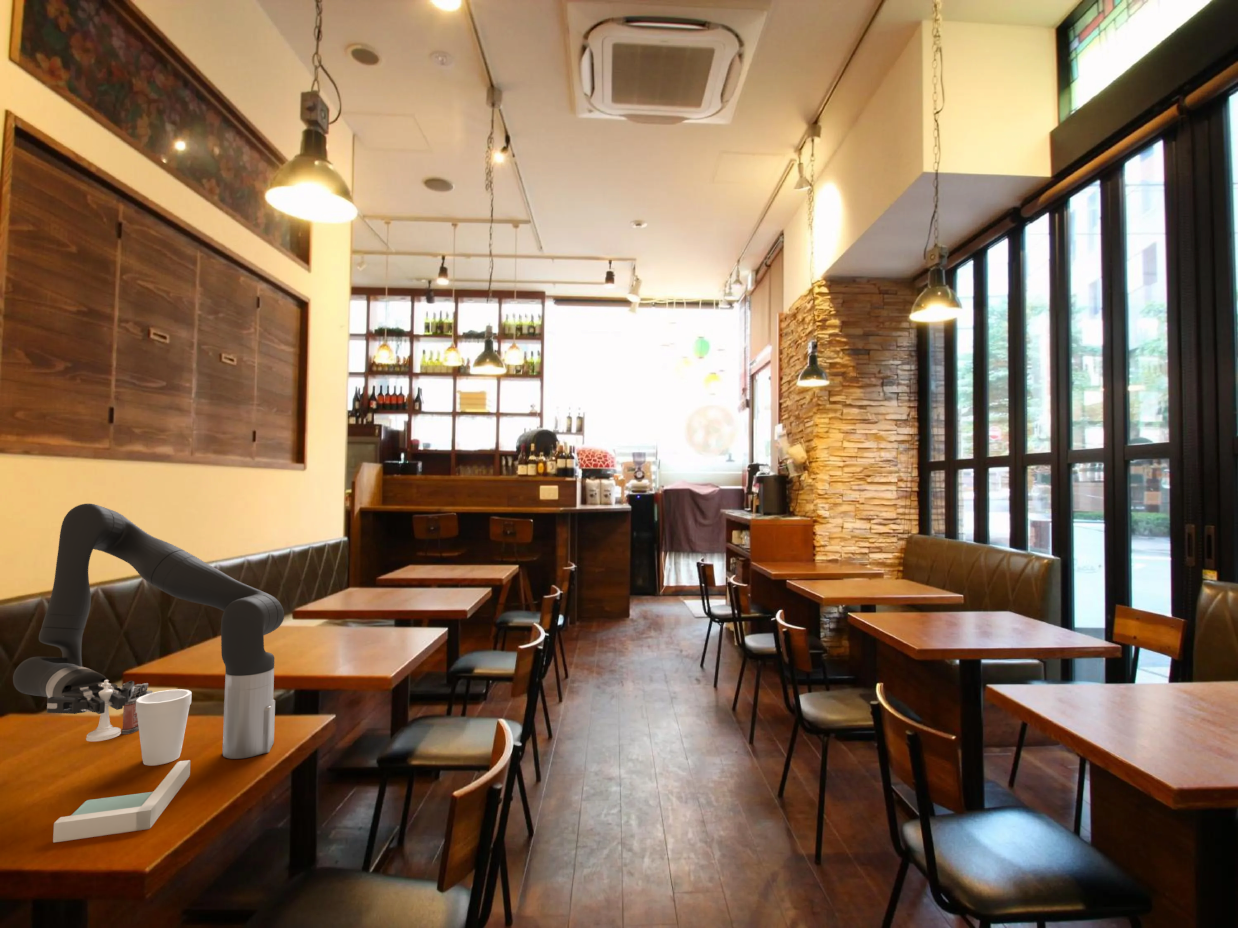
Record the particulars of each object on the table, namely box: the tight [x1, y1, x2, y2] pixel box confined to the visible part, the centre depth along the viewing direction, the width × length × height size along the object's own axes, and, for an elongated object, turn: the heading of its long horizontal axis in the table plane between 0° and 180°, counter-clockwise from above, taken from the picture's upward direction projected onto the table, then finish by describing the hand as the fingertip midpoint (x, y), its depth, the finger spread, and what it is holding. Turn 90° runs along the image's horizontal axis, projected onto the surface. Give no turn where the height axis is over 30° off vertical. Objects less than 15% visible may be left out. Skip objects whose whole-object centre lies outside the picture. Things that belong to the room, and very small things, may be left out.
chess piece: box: [85, 679, 122, 742], centre depth 114 cm, size 5×5×10 cm
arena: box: [52, 759, 191, 843], centre depth 112 cm, size 14×21×3 cm, turn 19°
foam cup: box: [136, 688, 192, 766], centre depth 132 cm, size 10×9×13 cm
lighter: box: [120, 682, 154, 735], centre depth 150 cm, size 8×3×10 cm, turn 5°
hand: (111, 705), depth 112 cm, fingers closed on chess piece
